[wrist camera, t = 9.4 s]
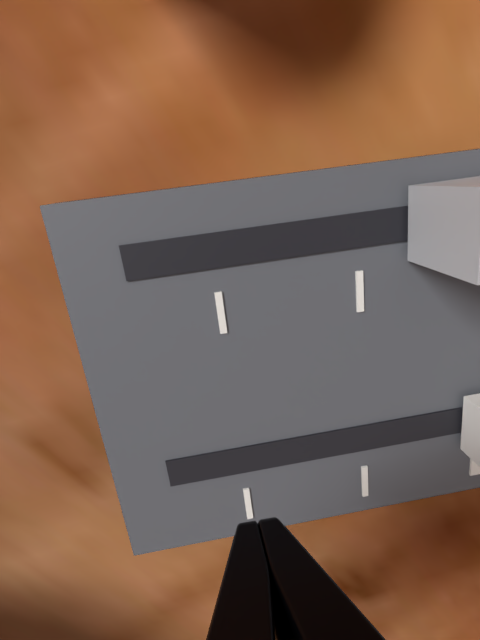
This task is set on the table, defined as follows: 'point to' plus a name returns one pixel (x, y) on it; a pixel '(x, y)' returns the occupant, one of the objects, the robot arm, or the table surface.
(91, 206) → the console
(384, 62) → the table surface
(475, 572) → the table surface
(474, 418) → the block
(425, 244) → the fader
